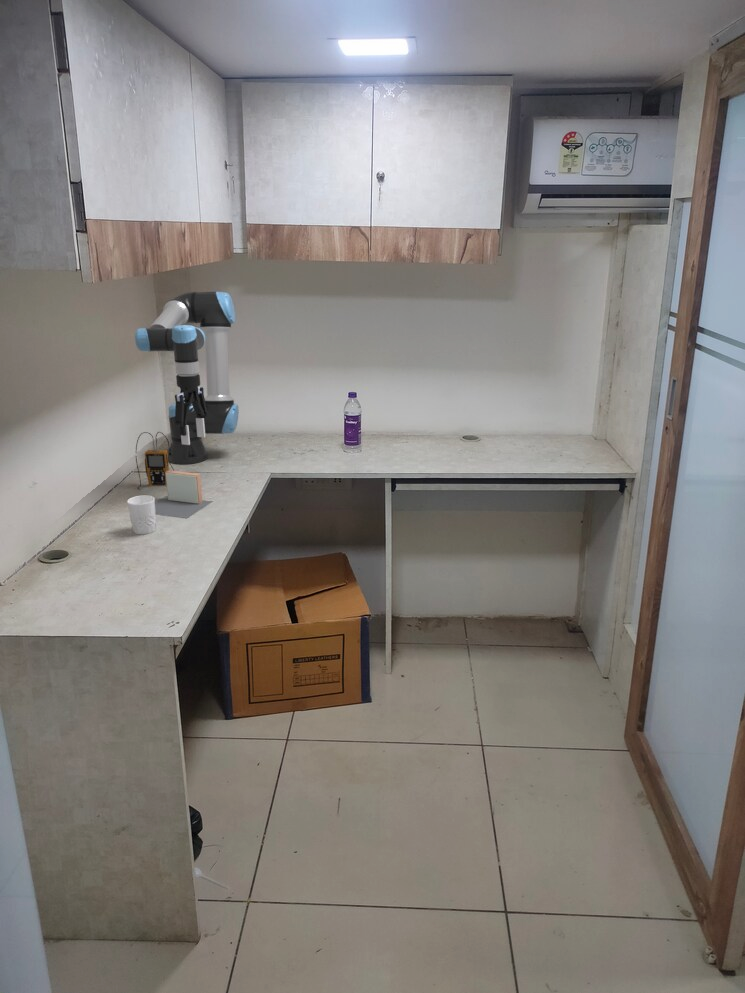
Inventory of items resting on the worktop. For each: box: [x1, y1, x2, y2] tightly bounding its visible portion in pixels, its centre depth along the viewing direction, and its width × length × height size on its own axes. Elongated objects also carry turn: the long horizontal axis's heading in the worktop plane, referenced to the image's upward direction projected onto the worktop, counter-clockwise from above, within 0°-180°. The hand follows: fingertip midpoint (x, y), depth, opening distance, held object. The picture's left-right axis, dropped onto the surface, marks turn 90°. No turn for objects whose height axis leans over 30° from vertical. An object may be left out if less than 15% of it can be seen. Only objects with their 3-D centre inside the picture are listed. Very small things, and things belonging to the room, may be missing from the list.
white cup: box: [127, 495, 157, 535], centre depth 217 cm, size 8×8×10 cm
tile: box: [165, 469, 203, 504], centre depth 239 cm, size 2×12×10 cm, turn 72°
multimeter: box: [135, 431, 175, 491], centre depth 250 cm, size 15×10×20 cm
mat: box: [155, 495, 213, 520], centre depth 236 cm, size 16×18×1 cm
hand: (193, 440), depth 241 cm, fingers open, 9 cm apart
